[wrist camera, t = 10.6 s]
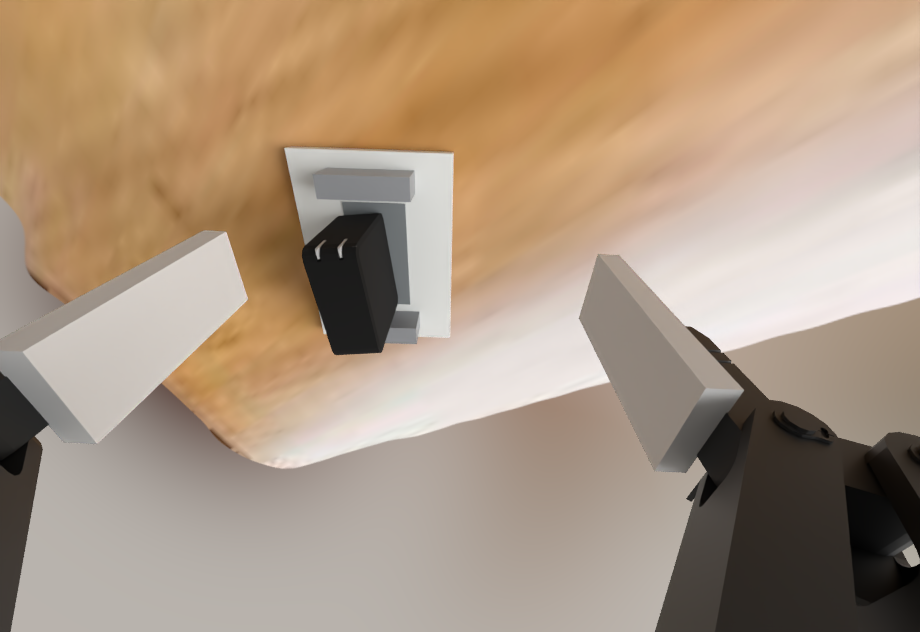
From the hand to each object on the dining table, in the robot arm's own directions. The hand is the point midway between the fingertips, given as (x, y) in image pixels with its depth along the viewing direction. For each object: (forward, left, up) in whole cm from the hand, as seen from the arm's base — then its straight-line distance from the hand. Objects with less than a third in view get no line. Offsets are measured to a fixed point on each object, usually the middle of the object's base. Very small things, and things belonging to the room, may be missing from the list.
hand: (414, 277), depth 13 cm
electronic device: (+9, -7, -22) cm, 25 cm away
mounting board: (+8, -7, -24) cm, 26 cm away
